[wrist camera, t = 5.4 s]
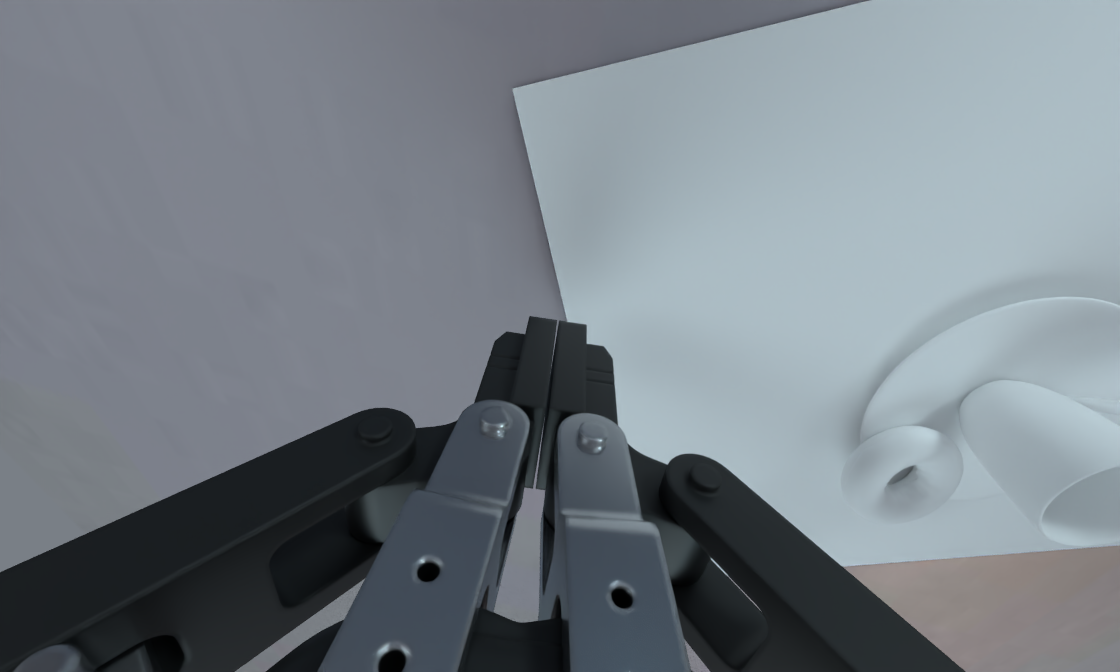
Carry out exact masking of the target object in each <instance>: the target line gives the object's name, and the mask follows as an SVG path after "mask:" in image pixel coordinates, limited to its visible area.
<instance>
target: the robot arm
mask: <svg viewBox="0 0 1120 672" xmlns="http://www.w3.org/2000/svg"><path fill="white" fill-rule="evenodd" d="M556 324H557V320H552V319H546V318H539V317H532V316H530V317H529V321H528V325H527V329H526V334H519V333H513V332H506V333H504V334H503V335H502V336H501V337H499V338H498V339H497V340H496V341H495V342H494V345H493V348H492V351H491V356H490V357H489V360H488V363H487V366H486V369H485V372H484V375H483V378H482V381H481V384H480V387H479V390H478V393H477V396H476V399H475V402H474V404H472V405H470V406H469V407H467V408H466V409H465V410H464V411H463V412H462V414H461V415H460V417H459V419H458V420H457V421H455V422H453V423H450V424H446V425H442V426H435V427H425V428H415V424H414V422H413V420H412V419H411V418H410V417H409V416H408V415H406V414H405V413H403V412H401V411H398V410H395V409H390V408H373V409H368V410H364V411H361V412H358V413H355V414H353V415H351V416H349V417H347V418H344V419H342V420H340V421H338V422H335V423H333V424H331V425H329V426H326V427H324V428H322V429H320V430H317V431H315V432H313V433H311V434H309V435H306V436H304V437H302V438H300V439H297V440H295V441H293V442H291V443H288V444H286V445H284V446H282V447H279V448H277V449H275V450H273V451H270V452H268V453H266V454H264V455H262V456H259V457H257V458H255V459H253V460H250V461H248V462H246V463H244V464H241V465H239V466H237V467H235V468H232V469H230V470H228V471H226V472H224V473H221V474H219V475H217V476H215V477H212V478H210V479H208V480H206V481H203V482H201V483H199V484H197V485H194V486H192V487H190V488H188V489H185V490H183V491H181V492H179V493H177V494H174V495H172V496H170V497H168V498H165V499H163V500H161V501H159V502H156V503H154V504H152V505H150V506H147V507H145V508H143V509H141V510H139V511H136V512H134V513H132V514H130V515H127V516H125V517H123V518H121V519H118V520H116V521H114V522H112V523H109V524H107V525H105V526H103V527H100V528H98V529H96V530H94V531H92V532H89V533H87V534H85V535H83V536H80V537H78V538H76V539H74V540H72V541H69V542H67V543H65V544H63V545H60V546H58V547H56V548H54V549H51V550H49V551H47V552H45V553H42V554H40V555H38V556H36V557H33V558H31V559H29V560H27V561H24V562H22V563H20V564H18V565H15V566H13V567H11V568H9V569H7V570H4V571H2V572H0V672H235V671H236V670H237V669H239V668H240V667H242V666H243V665H244V664H246V663H247V662H249V661H250V660H251V659H253V658H254V657H256V656H257V655H258V654H260V653H261V652H263V651H264V650H265V649H267V648H268V647H270V646H271V645H272V644H274V643H275V642H276V641H278V640H279V639H281V638H282V637H283V636H285V635H286V634H288V633H289V632H290V631H292V630H293V629H295V628H296V627H297V626H299V625H300V624H302V623H303V622H304V621H306V620H307V619H309V618H310V617H311V616H313V615H314V614H316V613H317V612H318V611H320V610H321V609H323V608H324V607H325V606H327V605H328V604H330V603H331V602H332V601H334V600H335V599H337V598H338V597H339V596H341V595H342V594H344V593H345V592H346V591H348V590H349V589H351V588H352V587H353V586H355V585H356V584H358V583H359V582H360V581H362V580H363V579H365V580H364V582H363V584H362V586H361V588H360V590H359V592H358V594H357V596H356V598H355V600H354V602H353V604H352V606H351V607H350V609H349V611H348V613H347V615H346V617H345V619H344V620H342V621H340V622H338V623H336V624H334V625H332V626H330V627H328V628H326V629H324V630H322V631H321V632H319V633H317V634H316V635H314V636H313V637H311V638H309V639H308V640H306V641H305V642H303V643H302V644H301V645H299V646H298V647H297V648H295V649H294V650H293V651H291V652H290V653H289V654H288V655H286V656H285V657H284V658H282V659H281V660H280V661H279V662H277V663H276V664H275V665H274V666H272V667H271V668H270V669H268V670H267V671H266V672H693V671H691V667H690V663H689V659H688V654H687V650H686V646H685V641H684V639H685V640H686V641H687V643H688V644H689V645H690V646H691V648H692V649H693V650H694V651H695V653H696V654H697V655H698V656H699V658H700V659H701V660H702V661H703V663H704V664H705V665H706V666H707V668H708V669H709V670H710V671H711V672H965V671H964V670H963V669H962V668H961V667H959V666H958V665H957V664H956V663H955V662H953V661H952V660H951V659H950V658H949V657H948V656H946V655H945V654H944V653H943V652H942V651H941V650H939V649H938V648H937V647H936V646H935V645H934V644H932V643H931V642H930V641H929V640H928V639H926V638H925V637H924V636H923V635H922V634H921V633H919V632H918V631H917V630H916V629H915V628H914V627H912V626H911V625H910V624H909V623H908V622H907V621H905V620H904V619H903V618H902V617H901V616H899V615H898V614H897V613H896V612H895V611H894V610H892V609H891V608H890V607H889V606H888V605H887V604H885V603H884V602H883V601H882V600H881V599H880V598H878V597H877V596H876V595H875V594H874V593H872V592H871V591H870V590H869V589H868V588H867V587H865V586H864V585H863V584H862V583H861V582H860V581H858V580H857V579H856V578H855V577H854V576H853V575H851V574H850V573H849V572H848V571H847V570H846V569H844V568H843V567H842V566H841V565H840V564H838V563H837V562H836V561H835V560H834V559H833V558H831V557H830V556H829V555H828V554H827V553H826V552H824V551H823V550H822V549H821V548H820V547H819V546H817V545H816V544H815V543H814V542H813V541H811V540H810V539H809V538H808V537H807V536H806V535H804V534H803V533H802V532H801V531H800V530H799V529H797V528H796V527H795V526H794V525H793V524H792V523H790V522H789V521H788V520H787V519H786V518H784V517H783V516H782V515H781V514H780V513H779V512H777V511H776V510H775V509H774V508H773V507H772V506H770V505H769V504H768V503H767V502H766V501H765V500H763V499H762V498H761V497H760V496H759V495H757V494H756V493H755V492H754V491H753V490H752V489H750V488H749V487H748V486H747V485H746V484H745V483H743V482H742V481H741V480H740V479H739V478H738V477H736V476H735V475H734V474H733V473H732V472H730V471H729V470H728V469H727V468H726V467H724V466H723V465H722V464H720V463H719V462H717V461H715V460H713V459H711V458H709V457H706V456H703V455H699V454H681V455H678V456H676V457H674V458H673V459H671V461H670V462H669V463H668V465H667V464H665V463H662V462H660V461H657V460H655V459H652V458H650V457H648V456H645V455H643V454H641V453H640V452H638V451H636V450H635V449H634V448H632V447H631V446H630V445H629V444H628V443H627V439H626V436H625V434H624V432H623V431H622V429H621V428H620V427H619V426H618V418H617V406H616V393H615V385H614V383H615V380H614V367H613V358H612V357H611V355H610V354H609V353H608V351H607V350H606V348H605V347H604V346H599V345H593V344H587V325H586V324H579V323H573V322H566V321H559V325H558V331H557V337H556V343H555V349H554V355H553V348H554V340H555V332H556ZM552 356H553V362H552ZM551 364H552V368H551ZM550 372H551V374H550ZM549 380H550V381H549ZM544 417H545V419H544ZM543 423H544V427H543ZM542 429H543V435H542ZM541 436H542V443H541V451H540V459H539V467H538V475H537V483H536V489H542V490H545V499H544V507H543V512H542V518H541V532H540V587H539V615H538V621H534V622H527V623H520V622H515V621H512V620H510V619H507V618H505V617H503V616H500V615H498V614H496V613H494V608H495V603H496V599H497V595H498V591H499V587H500V583H501V579H502V575H503V571H504V567H505V563H506V559H507V555H508V551H509V547H510V543H511V539H512V535H513V531H514V527H515V523H516V517H517V512H518V511H519V509H520V507H521V504H522V499H523V492H524V487H526V488H533V484H534V478H535V472H536V466H537V460H538V454H539V448H540V442H541ZM711 558H712V559H713V560H714V561H715V562H716V563H717V564H718V565H719V566H720V567H721V568H722V569H723V570H724V571H725V573H726V574H727V575H728V576H729V577H730V578H731V579H732V580H733V581H734V582H735V583H736V584H737V585H738V586H739V587H740V588H741V589H742V590H743V591H744V592H745V593H746V594H747V595H748V596H749V597H750V598H751V600H752V601H753V602H754V603H755V604H756V605H757V606H758V607H759V608H760V610H761V611H762V612H761V611H760V610H759V609H758V608H757V607H756V606H755V605H754V604H753V603H752V602H751V601H750V600H749V599H748V598H747V596H746V595H745V594H744V593H743V592H742V591H741V590H740V589H739V588H738V587H737V586H736V585H735V584H734V583H733V582H732V581H731V580H730V579H729V578H728V577H727V576H726V575H725V574H724V572H723V571H722V570H721V569H720V568H719V567H718V566H717V565H716V564H715V563H714V562H713V561H712V560H711Z"/></svg>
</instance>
